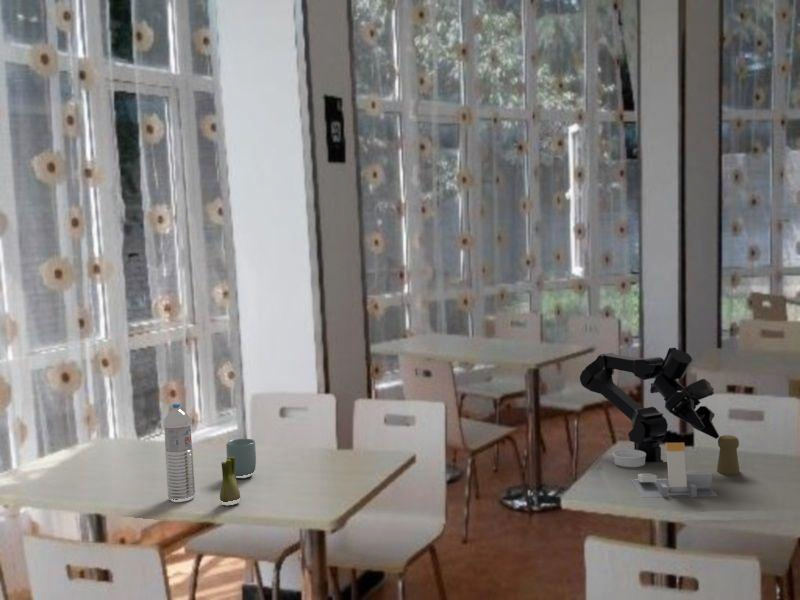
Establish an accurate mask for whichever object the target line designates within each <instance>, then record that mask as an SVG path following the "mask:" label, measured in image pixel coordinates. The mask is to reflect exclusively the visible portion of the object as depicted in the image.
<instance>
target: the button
mask: <svg viewBox="0 0 800 600" xmlns="http://www.w3.org/2000/svg"><path fill="white" fill-rule="evenodd" d="M686 472H699V471H698V470H694V469H692V470H691V469H690V470H689V469H686Z"/></svg>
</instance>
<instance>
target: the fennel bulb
mask: <svg viewBox="0 0 800 600" xmlns="http://www.w3.org/2000/svg"><path fill="white" fill-rule="evenodd" d="M221 470H222V471H221V472H222V484H221V488H220V491H219V493H220V494H219V499H220V500H221V501H223V502H228V501H233V500H237V499H239V498H240V499H241V492H240V490H239V485H238V481H237V480H238V479H236V476H235V457H227V456H226V460H225V461H221ZM221 501H220V502H221Z"/></svg>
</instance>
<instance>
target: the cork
mask: <svg viewBox="0 0 800 600" xmlns="http://www.w3.org/2000/svg"><path fill="white" fill-rule="evenodd" d="M739 443H740V441H739V438H738V437H737V436H735V435H730V434H724V435H723V434H722V435H721V436H720V435H719V437H718V438H717V445H718V447H719V453H718V461H717V466H716V467H717V469H716V472H717V473H718V474H721V475H729V476H731V475H733V476H736V475H739V474H740V473H741V471H740V465H739V464H740V463H739V458H738V457H739V456H738V451H737V449H738V448H739V447H740V446H739V445H740V444H739Z"/></svg>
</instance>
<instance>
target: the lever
mask: <svg viewBox="0 0 800 600" xmlns="http://www.w3.org/2000/svg"><path fill="white" fill-rule="evenodd" d="M685 447H686V446H685V442H665V452H666V461H667V462H666V463H667V464H666V465H667V478H668V481H669V486H668V493H669V494H671V493H688V486H687V481H686V471H687V469H686V455H685V451H686V448H685Z"/></svg>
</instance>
